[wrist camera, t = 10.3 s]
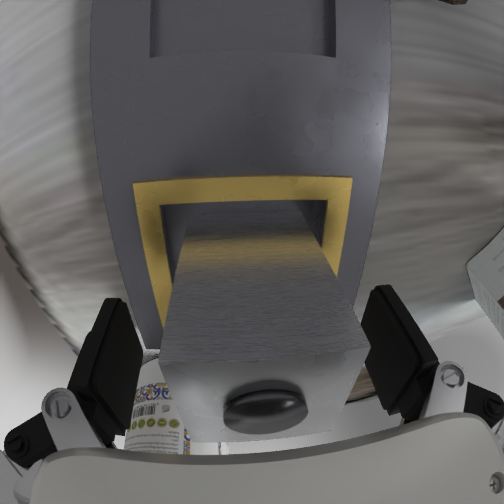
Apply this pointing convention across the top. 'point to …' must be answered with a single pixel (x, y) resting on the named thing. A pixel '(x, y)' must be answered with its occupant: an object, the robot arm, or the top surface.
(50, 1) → the top surface
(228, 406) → the brushed steel block
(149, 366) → the bath foam
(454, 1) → the bolt
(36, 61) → the top surface
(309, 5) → the grey slotted board
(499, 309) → the skincare box
